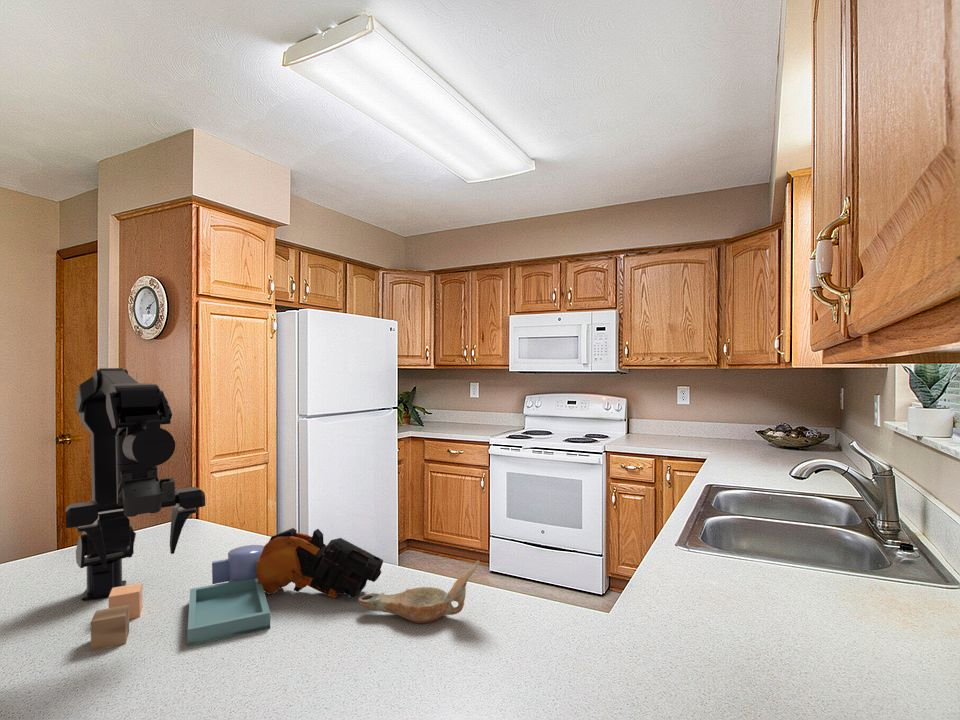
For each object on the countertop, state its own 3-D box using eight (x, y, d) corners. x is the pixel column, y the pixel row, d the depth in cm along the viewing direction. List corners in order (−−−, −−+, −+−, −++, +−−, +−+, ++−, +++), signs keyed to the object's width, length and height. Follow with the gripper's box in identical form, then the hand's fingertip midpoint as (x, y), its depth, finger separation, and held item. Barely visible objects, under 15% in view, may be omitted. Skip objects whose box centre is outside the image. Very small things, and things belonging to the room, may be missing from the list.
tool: (347, 644, 99) (376, 568, 97) (240, 589, 102) (267, 515, 101) (365, 623, 106) (391, 552, 105) (265, 572, 110) (290, 504, 109)
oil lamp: (476, 632, 88) (475, 569, 88) (349, 625, 91) (348, 565, 91) (484, 609, 96) (483, 551, 96) (368, 603, 99) (367, 548, 100)
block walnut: (96, 638, 88) (95, 610, 88) (129, 632, 90) (128, 604, 90) (91, 651, 84) (90, 621, 84) (125, 644, 86) (125, 615, 86)
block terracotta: (112, 613, 97) (112, 587, 97) (142, 607, 99) (142, 582, 100) (108, 623, 93) (108, 596, 93) (139, 617, 95) (139, 591, 96)
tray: (190, 602, 101) (190, 588, 101) (260, 589, 106) (260, 576, 106) (187, 646, 85) (187, 629, 85) (270, 628, 90) (270, 612, 90)
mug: (212, 586, 108) (211, 550, 109) (265, 576, 113) (264, 542, 113) (212, 599, 102) (212, 561, 102) (268, 588, 107) (268, 552, 107)
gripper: (64, 474, 77) (66, 588, 76) (210, 458, 88) (213, 557, 87) (64, 468, 85) (66, 569, 85) (197, 454, 97) (200, 543, 96)
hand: (139, 560), depth 88 cm, fingers open, 9 cm apart
